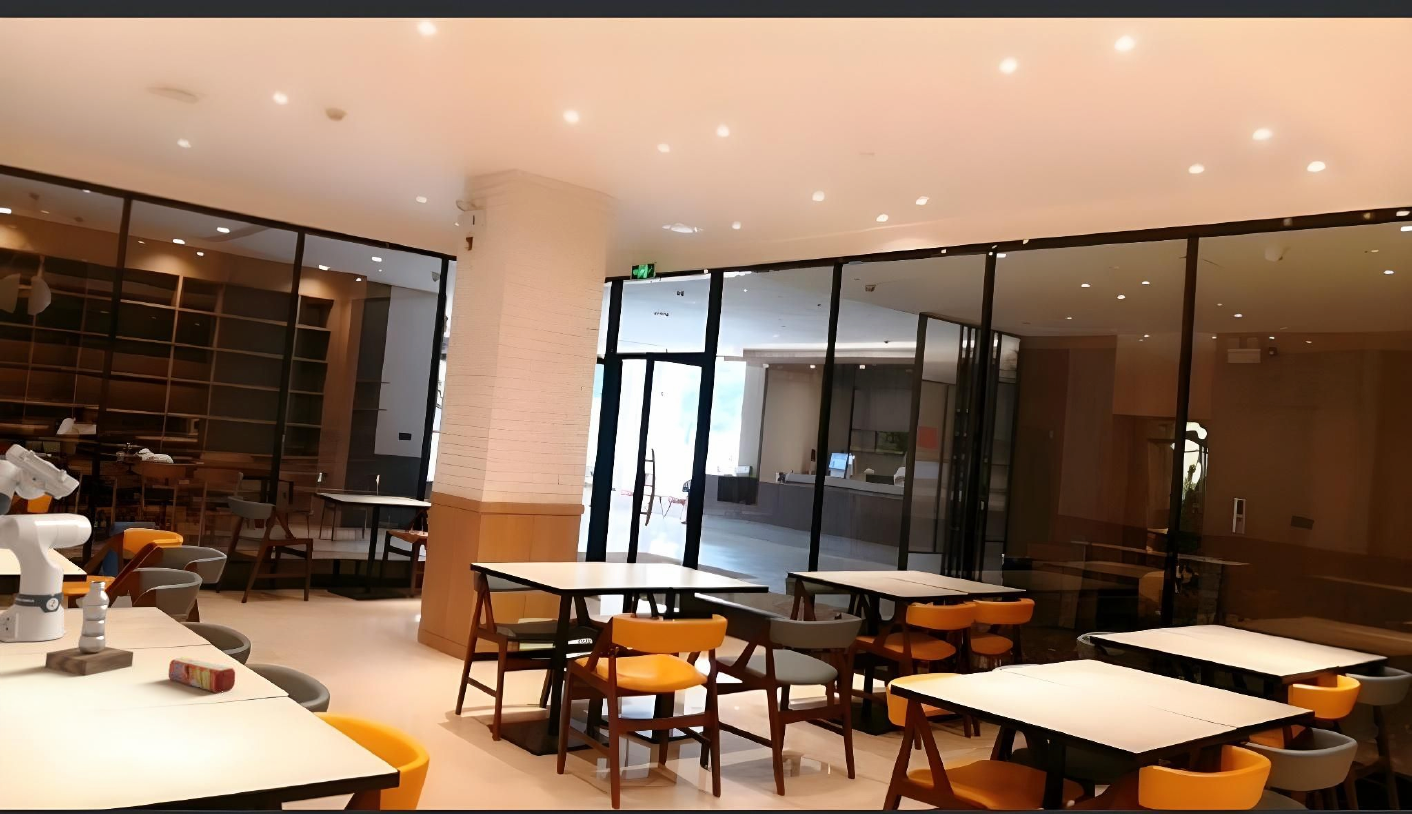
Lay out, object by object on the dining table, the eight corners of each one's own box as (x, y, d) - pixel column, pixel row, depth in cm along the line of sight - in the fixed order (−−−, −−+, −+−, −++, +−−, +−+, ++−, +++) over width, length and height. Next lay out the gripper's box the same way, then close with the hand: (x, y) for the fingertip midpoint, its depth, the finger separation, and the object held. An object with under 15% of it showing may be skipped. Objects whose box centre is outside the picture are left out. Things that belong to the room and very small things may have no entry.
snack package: (165, 681, 259) (167, 656, 259) (188, 677, 265) (190, 652, 265) (213, 695, 249) (215, 669, 249) (236, 690, 255) (238, 665, 255)
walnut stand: (45, 667, 264) (46, 652, 264) (92, 658, 277) (94, 644, 277) (85, 675, 258) (86, 660, 258) (132, 665, 271) (133, 651, 271)
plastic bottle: (92, 655, 264) (100, 584, 265) (71, 653, 265) (78, 582, 266) (110, 651, 270) (117, 581, 271) (89, 648, 271) (96, 579, 272)
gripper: (13, 447, 281) (20, 433, 271) (77, 486, 289) (87, 474, 279) (-3, 463, 277) (3, 450, 267) (63, 502, 285) (71, 491, 275)
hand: (46, 463), depth 273 cm, fingers open, 8 cm apart
